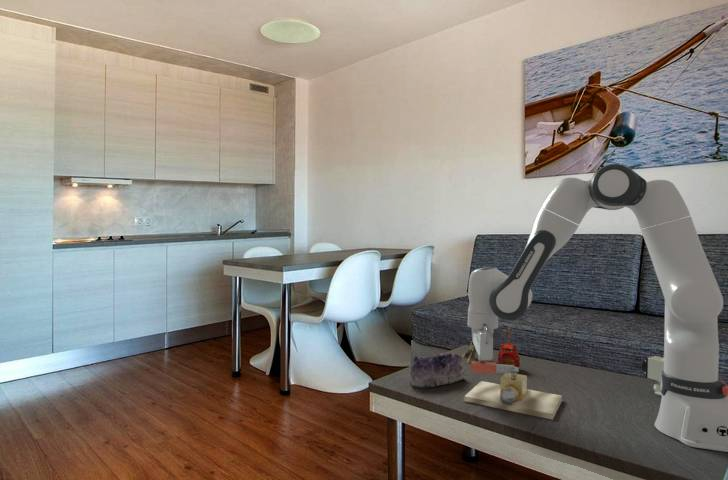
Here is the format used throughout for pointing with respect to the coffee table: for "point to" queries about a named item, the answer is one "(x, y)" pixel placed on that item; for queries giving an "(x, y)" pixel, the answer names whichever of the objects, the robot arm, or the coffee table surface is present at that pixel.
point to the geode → (436, 371)
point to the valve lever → (493, 368)
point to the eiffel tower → (472, 356)
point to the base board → (530, 405)
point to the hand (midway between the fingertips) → (481, 366)
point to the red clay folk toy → (508, 354)
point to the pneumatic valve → (654, 370)
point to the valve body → (513, 388)
